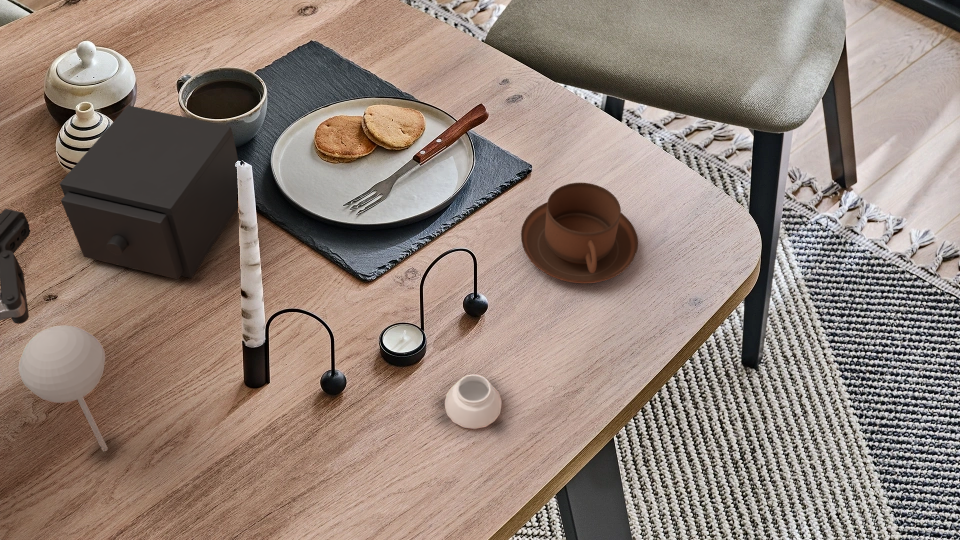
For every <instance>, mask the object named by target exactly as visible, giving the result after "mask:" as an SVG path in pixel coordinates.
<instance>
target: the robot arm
mask: <svg viewBox="0 0 960 540" xmlns="http://www.w3.org/2000/svg"><path fill="white" fill-rule="evenodd" d="M30 234H31V229H30V223H29V221H28V219H27V216H26V215H25V213H24V212H23V211H18V210H14V209H10V208H5V209H3V210H2V211H1V212H0V321H5V320H8V319H11V320H12V322H13V323H14V324H18V325H19V324H21V325H22V324H23V323H25V322H27V321H28V320H29V317H30V316H29V315H30V314H29V306H28V298H27V290H26V282H25V275H24V274H25V273H24V271H23V269H22V267H21V266H20V262H19V261H18V259H17V257H16V255H15V253H16V252H17V250H18V249H19V248H20V247H21V246H22V244H24V242H25V241H26V240H27V239H28V237H29V236H30Z"/></svg>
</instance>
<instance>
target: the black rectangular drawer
mask: <svg viewBox="0 0 960 540" xmlns="http://www.w3.org/2000/svg"><path fill="white" fill-rule="evenodd" d="M60 202H61V204H62V207H63V209H64V212H65V214H66V216H67V219H68V221H69V223H70V224H69V225H70V226H71V229H72V231H73V233H74V235H75V239H76V241H77V244H78V246H79V248H80V251H81V253H82V255H83V257H84V258H88V259H91V260H96V261H100V262H104V263H108V264H112V265H116V266H121V267H125V268H129V269H133V270H138V271H142V272H146V273H150V274H154V275H158V276H162V277H166V278H170V279H175V280H179V279H180V277H182V276H181V274H182V273H183V271H184V270H183V267H182V264H181V260H180V257H179V254H178V250H177V247H176V244H175V241H174V237H173V234H172V231H171V227H170V224H169V221H168V217H167V215H166V214H165V213H162V212H158V211H154V210H149V209H145V208H141V207H136V206H132V205H127V204H123V203H119V202H114V201H110V200H105V199H101V198H97V197H92V196H88V195H86V196H82V195H78V194H74V193H69V192H67V194H66V195H65V196H64V195H63V196H62V198H61V199H60Z"/></svg>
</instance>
